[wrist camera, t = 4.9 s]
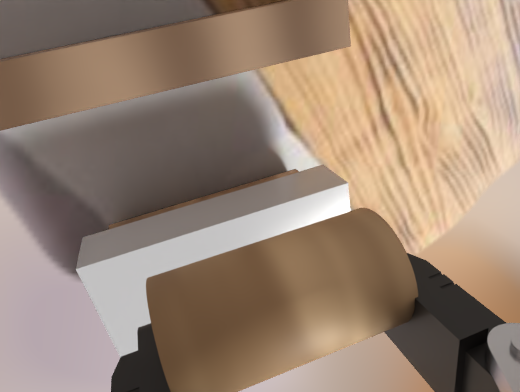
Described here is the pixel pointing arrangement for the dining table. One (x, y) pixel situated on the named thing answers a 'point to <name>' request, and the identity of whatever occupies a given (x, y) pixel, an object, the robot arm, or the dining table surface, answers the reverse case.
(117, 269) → the slab
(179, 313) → the roller
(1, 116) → the rail
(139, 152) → the dining table surface
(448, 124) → the dining table surface
